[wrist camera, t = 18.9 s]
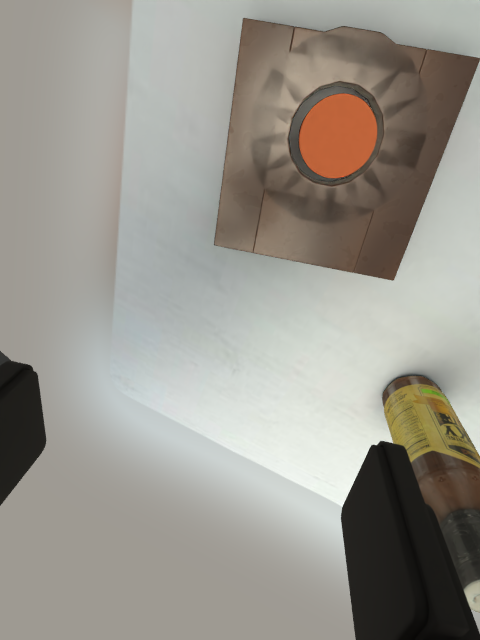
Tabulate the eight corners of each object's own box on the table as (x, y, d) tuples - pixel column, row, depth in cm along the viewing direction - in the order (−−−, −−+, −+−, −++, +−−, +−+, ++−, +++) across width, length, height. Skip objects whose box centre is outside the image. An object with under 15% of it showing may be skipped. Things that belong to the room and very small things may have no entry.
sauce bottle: (450, 403, 39) (576, 620, 22) (396, 425, 42) (469, 637, 24) (424, 360, 37) (538, 561, 20) (368, 386, 40) (426, 586, 22)
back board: (218, 238, 34) (213, 245, 32) (248, 18, 27) (244, 8, 24) (387, 271, 34) (393, 280, 32) (468, 56, 26) (484, 49, 24)
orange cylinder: (292, 165, 31) (291, 171, 26) (307, 93, 28) (309, 86, 24) (353, 176, 30) (363, 184, 26) (373, 105, 28) (388, 100, 24)
